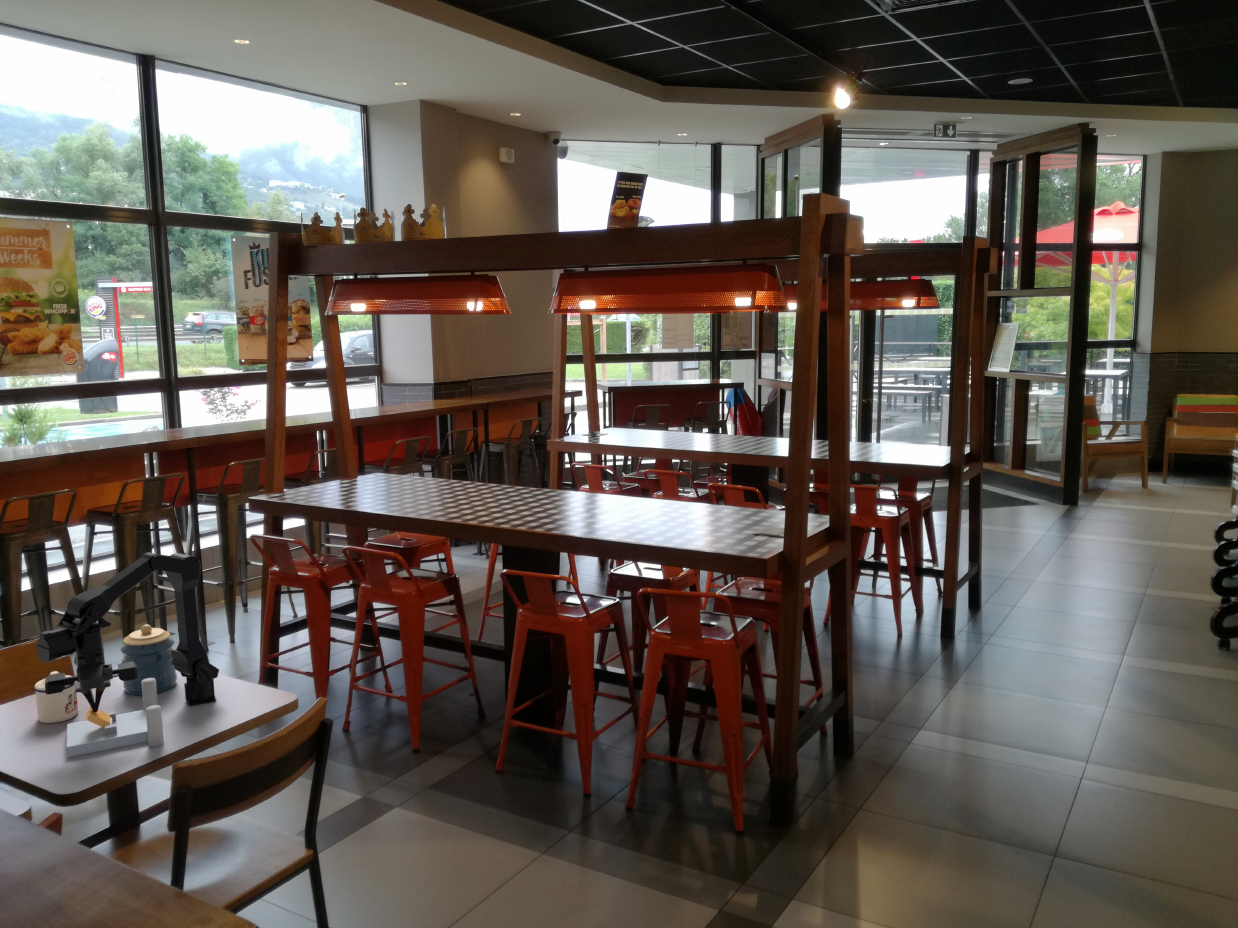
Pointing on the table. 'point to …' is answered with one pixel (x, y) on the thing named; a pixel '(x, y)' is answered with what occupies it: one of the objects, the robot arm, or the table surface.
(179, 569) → the robot arm
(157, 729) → the cord post near
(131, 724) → the panel
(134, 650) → the canister
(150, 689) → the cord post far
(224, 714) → the table surface
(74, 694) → the teacup with lid
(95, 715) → the thick orange slab
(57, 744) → the table surface
